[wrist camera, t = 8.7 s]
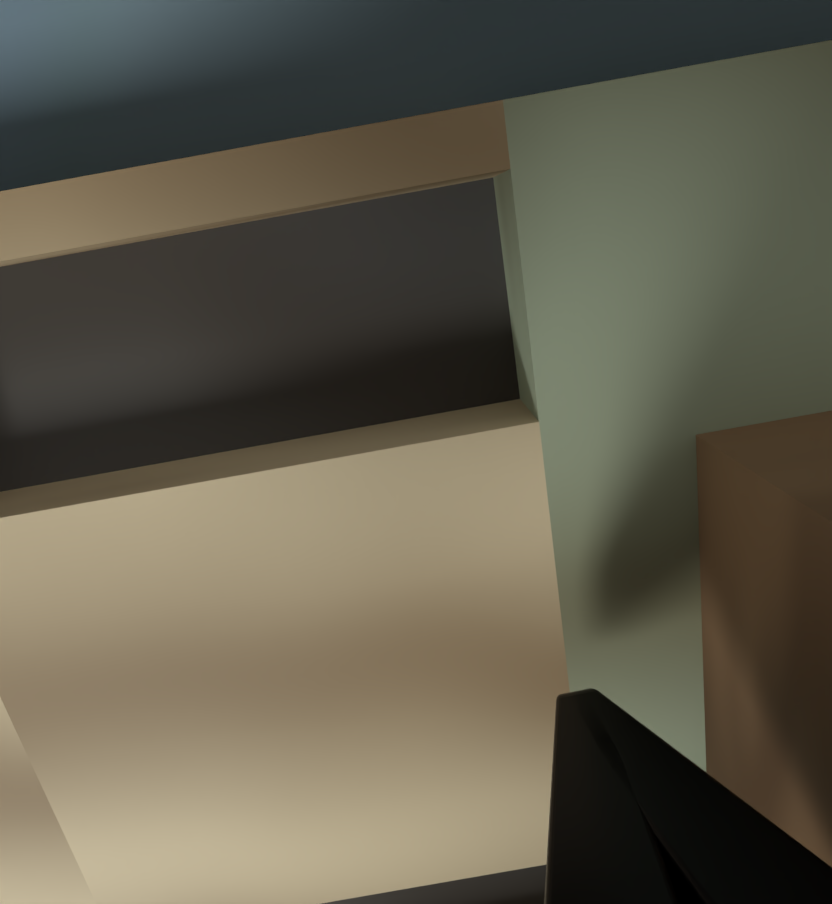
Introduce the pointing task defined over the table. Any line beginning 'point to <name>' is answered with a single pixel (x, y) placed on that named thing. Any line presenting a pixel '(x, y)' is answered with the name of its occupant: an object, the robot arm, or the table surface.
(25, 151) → the table surface
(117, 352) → the trap board
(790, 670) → the walnut block
